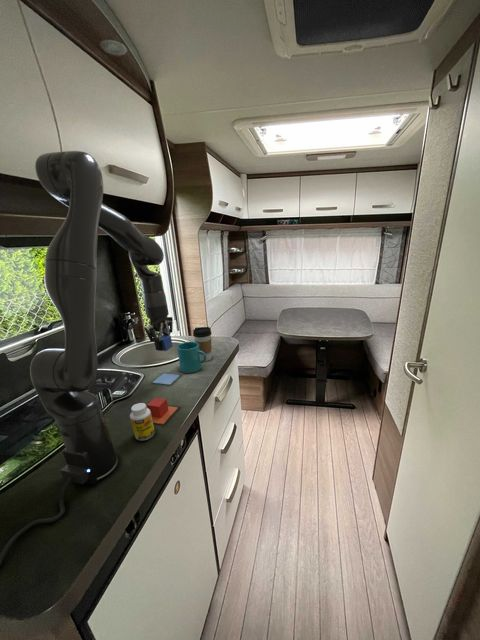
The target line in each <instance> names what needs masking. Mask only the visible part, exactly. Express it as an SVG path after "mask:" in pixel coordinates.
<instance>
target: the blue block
mask: <svg viewBox="0 0 480 640" xmlns="http://www.w3.org/2000/svg"><path fill="white" fill-rule="evenodd" d="M157 338H158V336H157ZM161 341H162V346H163V350H162V351H161V352H167V351H169V350H170V349H172V348H173V346H174V345H173V340H172V335H170V336H166V335H163V334H162V335H161ZM153 344H154V348H155V351H158V350H157V349H156V344H155V342H153Z"/></svg>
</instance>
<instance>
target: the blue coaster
mask: <svg viewBox="0 0 480 640" xmlns="http://www.w3.org/2000/svg"><path fill="white" fill-rule="evenodd" d="M180 377H181V375H180V374H175V373H162V374H161V375H159V376H158V377H157V378H156V379H154V380H153V381H152V382H151V383H152V384H157V385H165V386H171V385H172V384H173V383H174V382H175V381H176V380H177V379H179V378H180Z"/></svg>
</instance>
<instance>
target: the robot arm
mask: <svg viewBox="0 0 480 640" xmlns="http://www.w3.org/2000/svg"><path fill="white" fill-rule="evenodd" d="M34 169H35V174H36V176H37V179H38V182H39V183H40V185H41V186H42V188H43V189H44V190H45V191H46V192H47V193H48V194H49V195H50V196H52V197H53V198H54V199H55V200H57V201H58V202H60V203H61V204H63V205H64V206H66V207H68V211H67V214H66V216H65V219H64V221H63V223H62V224H61V227H59V229H58V230H57V232H56V233H55V235H54V236H53V238H52V239H51V241H50V244H49V246H48V247H47V249H46V252H45V257H44V287H45V290H46V293H47V295H48V297H49V299H50V301H51V303H52V304H53V306H54V307H55V309H56V311H57V312H58V314H59V317H60V318H61V321H62V323H63V327H64V328H63V329H64V348H46V349H42V350H41V351H39V352H37V353H36V354H35V355H34V356H33V358H32V360H31V362H30V365H29V375H30V380H31V382H32V385H33V388H34V390H35V392H36V394H37V396H38V398H39V400H40V402H41V404H42V406H43V408H44V410H45V412H46V413H47V414H49V416H51V417H52V418H53V420H54V423H55V425H56V427H57V430H58V432H59V435H60V438H61V440H62V442H63V445H64V449H62V450H61V451H62V455H63V457H64V460H65V462H66V465H65V466H63V467H62V468H61V469H60V473H61V476H62V477H63V480H64V481H66V482H65V483H64V484H63V486H62V488H61V490H60V493H59V502H58V506H59V510H60V511H59V513H58V514H57V515H55V516H53V517H48V518H47V517H45V518H37V519H35V520H33V521H31V522H29V523H28V524H26V525H25V526H24V527H22V528H21V529H20V530H18V531H17V532H16V533H15V534H14V535H13V536H12V537H11V538H10V539H9V540H8V541H7V543H6V544H5V545H4V546H3V549H2V550H1V552H0V567H1V566H2V563H3V561H4V559H5V557H6V555H7V553H8V551H9V550H10V548H11V547H12V545H13V544H14V543H15V542H16V541H17V539H19V537H20V536H22V535H23V534H25V532H26V531H28V530H30V529H31V528H32V527H34V526H36V525H40V524H50V523H53V522H56V521H58V520H59V519H61V517H63V516H64V514H65V512H66V507H65V494H66V492H67V490H68V488H69V486H70V484H71V483H75V484H80V485H84V484H88V485H92V486H94V485H96V484H97V482H99V481H101V480H104V479H105V478H107V477H109V476H110V475H111V474H112V473H113V472H114V471H115V470H116V469H117V467H118V464H119V459H118V456H117V454H116V450H115V448H114V444H113V440H112V437H111V435H110V432H109V429H108V425H107V422H106V419H105V418H106V417H105V416H104V415H105V414H104V412H103V409H102V405H101V402H100V399H99V398H98V396H97V395H96V394H94V393H92V392H89V391H88V390H90V388H92V386H93V385H94V383H95V382H96V378H97V375H98V367H99V366H98V365H99V363H98V349H97V348H98V347H97V335H96V289H97V271H98V270H97V269H98V267H97V255H98V252H97V251H98V238H99V237H98V235H99V229H101V230H102V231H103V232H104V233H106V234H107V235H108V236H110V237H111V238H112V239H113V240H114V241H115V242H116V243H117V244H118V245H119V246H120V247H122V248H123V249H124V250H125V251H127V252H128V258H129V260H130V263H131V265H132V266H133V269H134V271H135V273H136V275H137V276H138V279H139V282H140V286H141V292H142V300H143V305H144V309H145V314H146V317H147V319H149V325H148V326H147V327H144V331H145V333H146V335H147V337H148V339H149V341H150V342H153V343H154V342H155V343H154V345H155V344H156V348H155V350H156V349H157V350H156V351H158V352H159V351H160V352H163V351H162V350H163V346H162V341H161V335H166V336H171V333H173V330H174V328H173V327H174V326H173V324H174V323H173V322H174V321H173V320H174V319H173V317H172V316H169V314H170V313H169V308H168V307H169V306H168V301H167V296H166V292H165V288H164V283H163V278H162V275H161V274H160V273H159V272H155V271H152V270H151V269H150V268H149V266H160V265H161V264H162V263H163V261H164V258H165V255H164V252H163V248H162V247H161V245H160V244H159V243H158V242H157V241H155V240H154V239H153V238H152V237H151V238H150V237H149V236H148V235H146V234H145V233H143V232H141V231H140V230H139V228H137V226H136V225H135V224H134V223H133V222H132V221H131V220H130V219H129V218H128V217H127V216H125V215H124V214H122V213H120V212H119V211H117V210H115V209H113V208H112V207H109V206H108V205H106V204H105V203H103V197H104V178H103V174H102V170H101V168H100V165H99V164H98V161H96V158H94V157H93V156H92V155H91V154H89V153H88V152H86V151H80V150H67V151H53V152H47V153H42V154H41V155H39V156H38V157H37V158H36V160H35V164H34ZM157 337H158V338H157Z"/></svg>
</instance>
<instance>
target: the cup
mask: <svg viewBox="0 0 480 640" xmlns="http://www.w3.org/2000/svg"><path fill="white" fill-rule="evenodd" d="M176 350H177V356H178V362H179V366H180V367H179V369H180V371H181V372H182V373H184V374H193V373H197V372H199V371H200V370H201V369H202V364H204V363H205V362H207V361H206V358H207V357H206V354H205V353H204V352H203V351H201V350H199V344H198V343H196V342H195V341H184V342H182V343H181V342H180V343H179V344H178V345H176ZM200 353H201V354H203V355H204V360H202V361H201V359H200Z"/></svg>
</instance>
